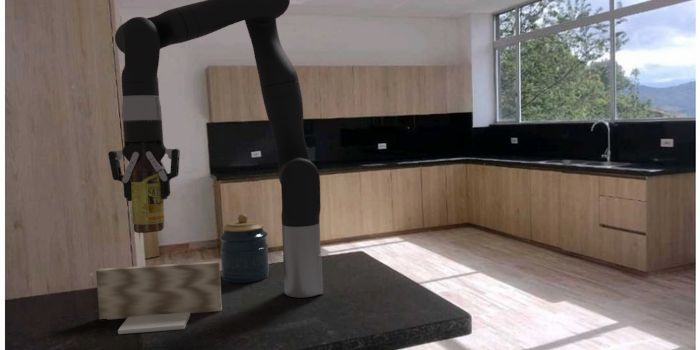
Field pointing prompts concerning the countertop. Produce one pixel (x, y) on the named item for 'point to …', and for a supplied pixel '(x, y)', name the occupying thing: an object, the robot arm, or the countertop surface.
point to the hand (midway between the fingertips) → (147, 199)
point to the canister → (244, 251)
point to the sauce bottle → (146, 195)
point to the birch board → (159, 289)
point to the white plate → (154, 323)
